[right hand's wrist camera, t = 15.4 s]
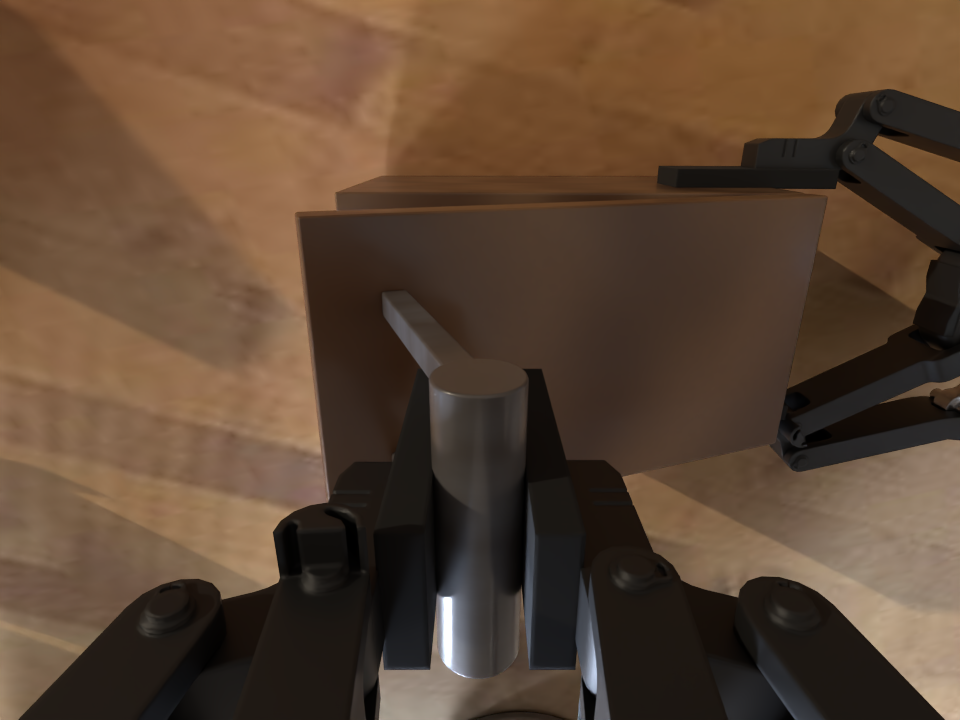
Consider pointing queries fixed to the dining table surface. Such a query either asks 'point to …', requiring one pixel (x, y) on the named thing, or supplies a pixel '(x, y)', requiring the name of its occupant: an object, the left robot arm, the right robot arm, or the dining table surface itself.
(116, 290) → the dining table surface
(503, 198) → the chest
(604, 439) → the lid
